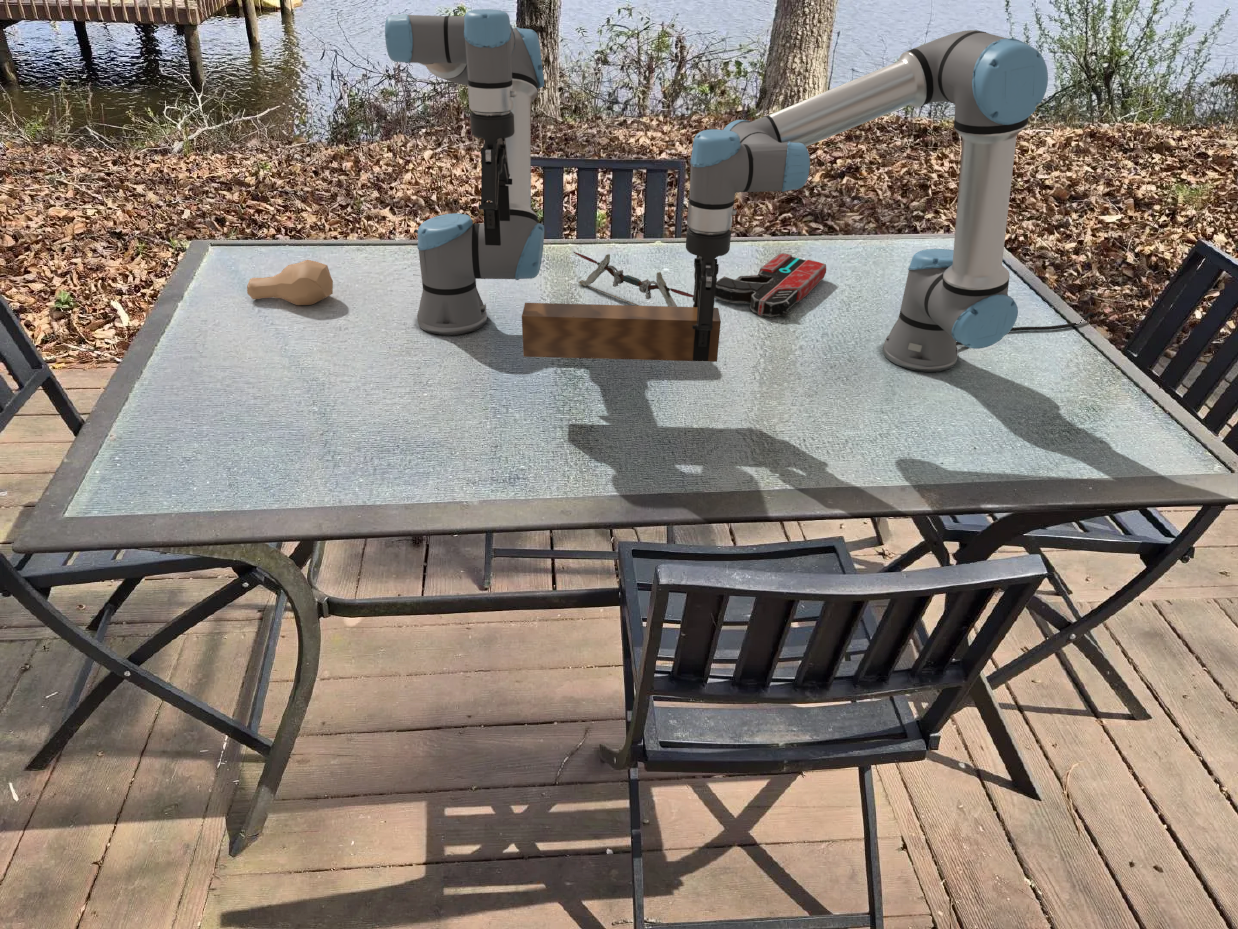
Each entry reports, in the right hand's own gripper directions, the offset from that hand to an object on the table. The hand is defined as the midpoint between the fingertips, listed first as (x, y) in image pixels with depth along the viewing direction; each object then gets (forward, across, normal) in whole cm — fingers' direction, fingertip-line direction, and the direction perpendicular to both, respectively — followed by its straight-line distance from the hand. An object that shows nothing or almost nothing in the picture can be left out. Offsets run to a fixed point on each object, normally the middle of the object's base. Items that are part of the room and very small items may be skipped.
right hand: (699, 351), depth 161 cm
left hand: (-17, +14, +38) cm, 43 cm away
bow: (+12, +49, +12) cm, 52 cm away
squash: (+12, +45, +91) cm, 103 cm away
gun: (+12, +59, -22) cm, 64 cm away
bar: (0, 0, +14) cm, 15 cm away
